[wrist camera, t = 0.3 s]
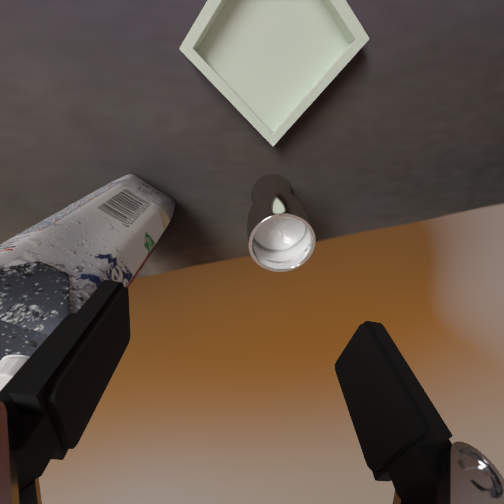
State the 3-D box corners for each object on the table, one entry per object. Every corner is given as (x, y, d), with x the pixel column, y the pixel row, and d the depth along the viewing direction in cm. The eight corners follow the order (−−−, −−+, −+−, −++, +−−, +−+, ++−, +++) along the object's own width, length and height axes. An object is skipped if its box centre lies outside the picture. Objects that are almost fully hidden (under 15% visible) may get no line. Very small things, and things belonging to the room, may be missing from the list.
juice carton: (104, 218, 38) (-119, 393, 15) (128, 162, 34) (-138, 291, 11) (156, 246, 41) (34, 430, 18) (185, 198, 36) (70, 361, 13)
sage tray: (272, -93, 22) (274, -114, 20) (360, 43, 27) (369, 38, 25) (184, 53, 27) (179, 48, 25) (271, 143, 32) (272, 146, 30)
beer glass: (265, 224, 39) (271, 284, 26) (239, 189, 36) (231, 237, 23) (303, 200, 36) (330, 252, 24) (278, 160, 33) (294, 196, 21)
